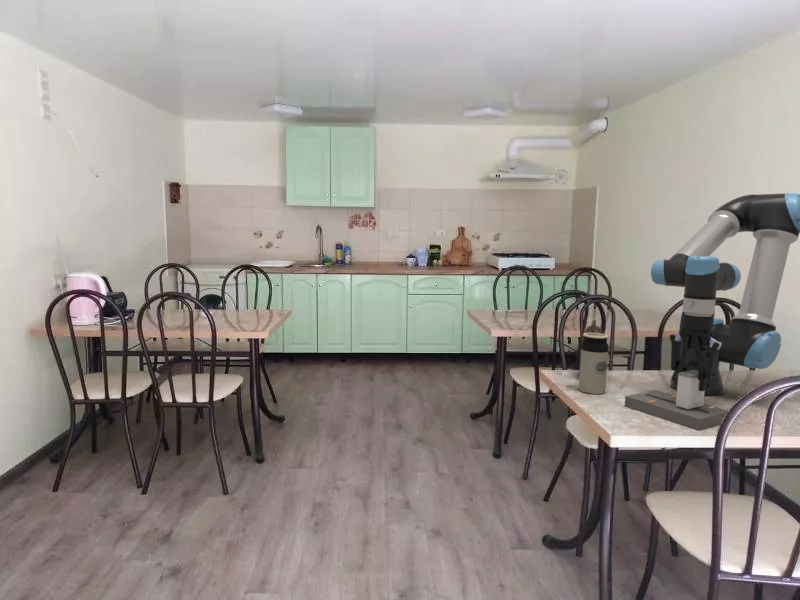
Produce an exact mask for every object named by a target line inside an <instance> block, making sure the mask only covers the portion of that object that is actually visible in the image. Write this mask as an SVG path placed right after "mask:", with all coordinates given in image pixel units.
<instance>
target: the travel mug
mask: <svg viewBox="0 0 800 600" xmlns="http://www.w3.org/2000/svg"><path fill="white" fill-rule="evenodd" d="M583 336H584V341H583V343H582V346H581V345H580V348H581V361H580V360H579V378H578V379H579V380H578V390H579V391H581V392H583V393H584V394H585V393H586V394H589V393H590V395H600V394H601V395H602V394H604V393H606V390H607V389H606V388H607V373H608V363H609V362H608V360H609V347H610V346H609V345H608V342H607V341H608V338H609V335H608V334H606V333H602V334H601V333H585V332H584V333H583Z"/></svg>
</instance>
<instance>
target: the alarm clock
mask: <svg viewBox="0 0 800 600" xmlns="http://www.w3.org/2000/svg"><path fill="white" fill-rule="evenodd" d="M584 333H601V334H603V329H601V327H600V326H597V319H592V323H591V325H589V326H587V327H585V331H584ZM583 341H584V336H583V337H582V340H581V343H580V348H579V362H580V361H581V346H582V343H583Z"/></svg>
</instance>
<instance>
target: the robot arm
mask: <svg viewBox="0 0 800 600" xmlns="http://www.w3.org/2000/svg"><path fill="white" fill-rule="evenodd" d="M744 232H750V233H752V237H754V239H756V242H755V246H754V250H753V255H752V259H751V262H750V267H749V271H748V274H747V275H748V276H747V278H746V283H745V287H744V291H743V295H742V299H741V301H740V302H741V303H740V306H739V307H740V308H739V310H738V311H739V312H738V314H737V315H735V316H733V317H731V319H730V323H729V324H725V321H724V319H723V318H715V317H714V316H713V315H714V314H715V312H716V300H717V299H716V298H717V292H718V291H723V292H724V291H725V292H726V291H728V290H732V289H734V288H735V287H737V286H738V285H739V283H740V281H741V278H742V276H741V275H742V274H741V271H740V269H739V268H738V267H737V265H734V264H733V263H729V262H720V259H719V257H717V256H714V255H713V256H712V254H713V253H715V251H716V250H717V249H719V248H720V246H721V245H722V244H723V243H725V241H726V240H727V239H729V238H732V237H734V236H735V235H737V234H738V233H744ZM799 235H800V193H789V192H785V193H768V194H767V193H765V194H764V193H762V194H746V195H743V196H739V197H736V198H734V199H732V200H729V201H728V202H726V203H724V204H722V205H721V206H720V207H718V208H717V209H715V210H714V211H713V212H712V213H711V214H710V215H709V216H708V219H707V222H706V224H705V225H703V226H702V227H701V228H700V229H699V230H697V232H696V233H695V234H694V235H692V237H691V238H690V239H688V240H687V242H685V244H683V245H682V247H681V248H679V249H678V250H677V251H676V252H675V253H674V254H673V255H671V257H670V258H669V259H666V258H665V259H657V260H655V261H654V262H653V264H652V265H651V268H650V276H651V277H650V278H651V280H652V282H653V283H654V284H656V285H660V286H664V287H665V286H666V287H676V288H677V287H679V288H680V287H681V288H684V291H683V292H684V293H683V298H682V299H683V300H682V302H683V303H682V312H683V313H682V314H681V319H680V320H681V321H680V322H681V323H680V328H681V329H680V331H679V333H675V334H674V333H673V334H670V335H669V339H670V342H671V343H670V344H671V347H670V349H671V352H670V369H671V371H673V374H672V375H671V377H670V384H669V386H670V387H671V388H672V389H674V390H676V391H677V385H678V373H680V372H685V371H691V370H696V371H698V374H699V377H697V378H696V380H695V391H694V401H693V402H694V403H699V402H702V396H703V391H705V393H704V396H719V395H720V396H721V395H722V394H723V393H724V383H723V379H722V375H721V372H720V362H721V363H725V364H731V365H736V366H741V367H745V368H748V369H751V368H752V369H759V370H764V369H767V368H769V367H771V365H772V364H773V363H774V362H775V360H776V359H777V357H778V355H779V353H780V349H781V346H782V343H781V342H782V337H781V334H780V333H779V332H777V325H775V323H774V321H773V316H774V312H775V308H776V304H777V300H778V296H779V293H780V292H779V291H780V288H781V284H782V279H783V276H784V271H785V267H786V263H787V258H788V255H789V251H790V246H791V245H792V244H793V243H795V242H797V241H798V240H799Z"/></svg>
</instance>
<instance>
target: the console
mask: <svg viewBox="0 0 800 600" xmlns="http://www.w3.org/2000/svg"><path fill="white" fill-rule="evenodd" d="M676 396H677V394H675V395H674V394H671V393H669V392H668V393H667V392H664V391H661V390H657V389H653V390H649V391H644V392H639V393H635V394H628V395H625V396H624V407H626V408H629V409H632V410H635V411H638V412H642V413H644V414H647V415H650V416H653V417H656V418H660V419H663V420H666V421H669V422H672V423H675V424H678V425H680V426H684V427H686V428H689V429H693V430H696V431H703V430H706V429H709V428H713V427H716V426H720V424H721V422H722V420H723V418H724V417H725V415H726V414H727V413H728V411H729V410H728V409H725V408H720V407H718V406H714V405H709V404H706V403H703V406H699V407H695V408H691V409H686V408H682V407H679V406H676ZM721 425H722V424H721Z"/></svg>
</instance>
